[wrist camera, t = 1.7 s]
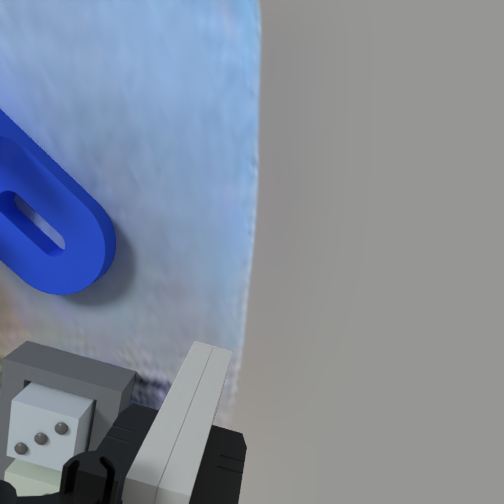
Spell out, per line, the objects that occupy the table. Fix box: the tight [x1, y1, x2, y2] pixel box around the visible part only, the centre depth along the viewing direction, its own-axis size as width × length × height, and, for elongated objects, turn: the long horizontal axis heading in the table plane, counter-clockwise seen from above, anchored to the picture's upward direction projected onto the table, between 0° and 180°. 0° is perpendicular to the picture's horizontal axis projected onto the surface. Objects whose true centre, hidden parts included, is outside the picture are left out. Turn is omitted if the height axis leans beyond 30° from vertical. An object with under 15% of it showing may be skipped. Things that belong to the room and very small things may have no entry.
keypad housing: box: [0, 341, 136, 481], centre depth 37 cm, size 10×23×3 cm, turn 166°
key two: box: [4, 459, 62, 496], centre depth 35 cm, size 5×5×4 cm
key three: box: [6, 382, 97, 472], centre depth 33 cm, size 5×5×4 cm
